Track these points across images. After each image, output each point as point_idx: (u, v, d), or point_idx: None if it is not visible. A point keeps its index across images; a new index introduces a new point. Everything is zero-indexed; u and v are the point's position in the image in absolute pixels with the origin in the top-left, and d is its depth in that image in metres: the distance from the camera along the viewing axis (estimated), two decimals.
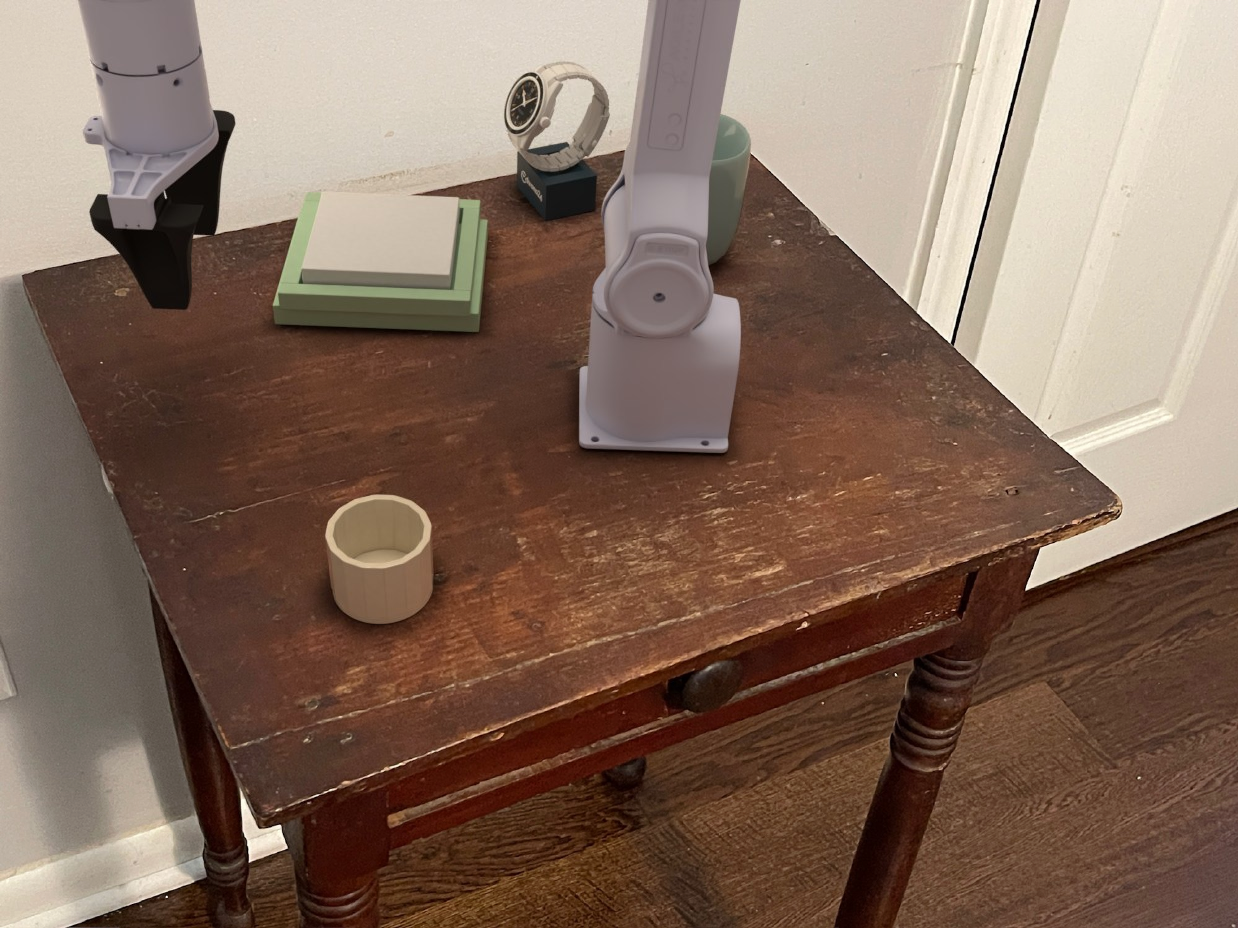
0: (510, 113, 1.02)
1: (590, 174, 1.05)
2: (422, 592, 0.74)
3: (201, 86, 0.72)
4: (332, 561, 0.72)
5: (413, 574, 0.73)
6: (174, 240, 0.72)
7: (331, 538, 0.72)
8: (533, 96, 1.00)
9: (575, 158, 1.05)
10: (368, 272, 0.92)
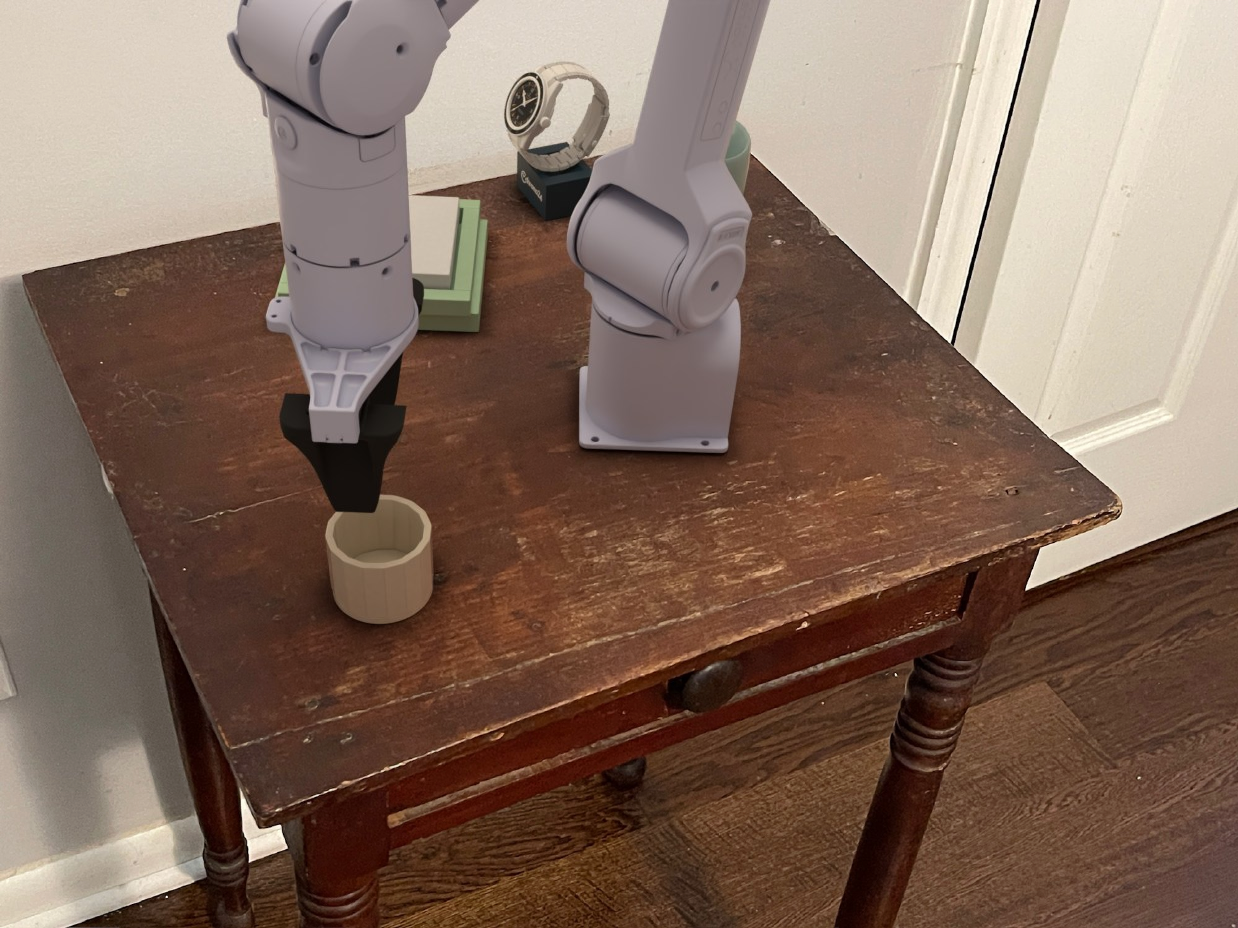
0: (510, 113, 1.02)
1: (590, 174, 1.05)
2: (422, 592, 0.74)
3: (409, 270, 0.62)
4: (332, 561, 0.72)
5: (413, 574, 0.73)
6: (375, 448, 0.62)
7: (331, 538, 0.72)
8: (533, 96, 1.00)
9: (575, 158, 1.05)
10: None
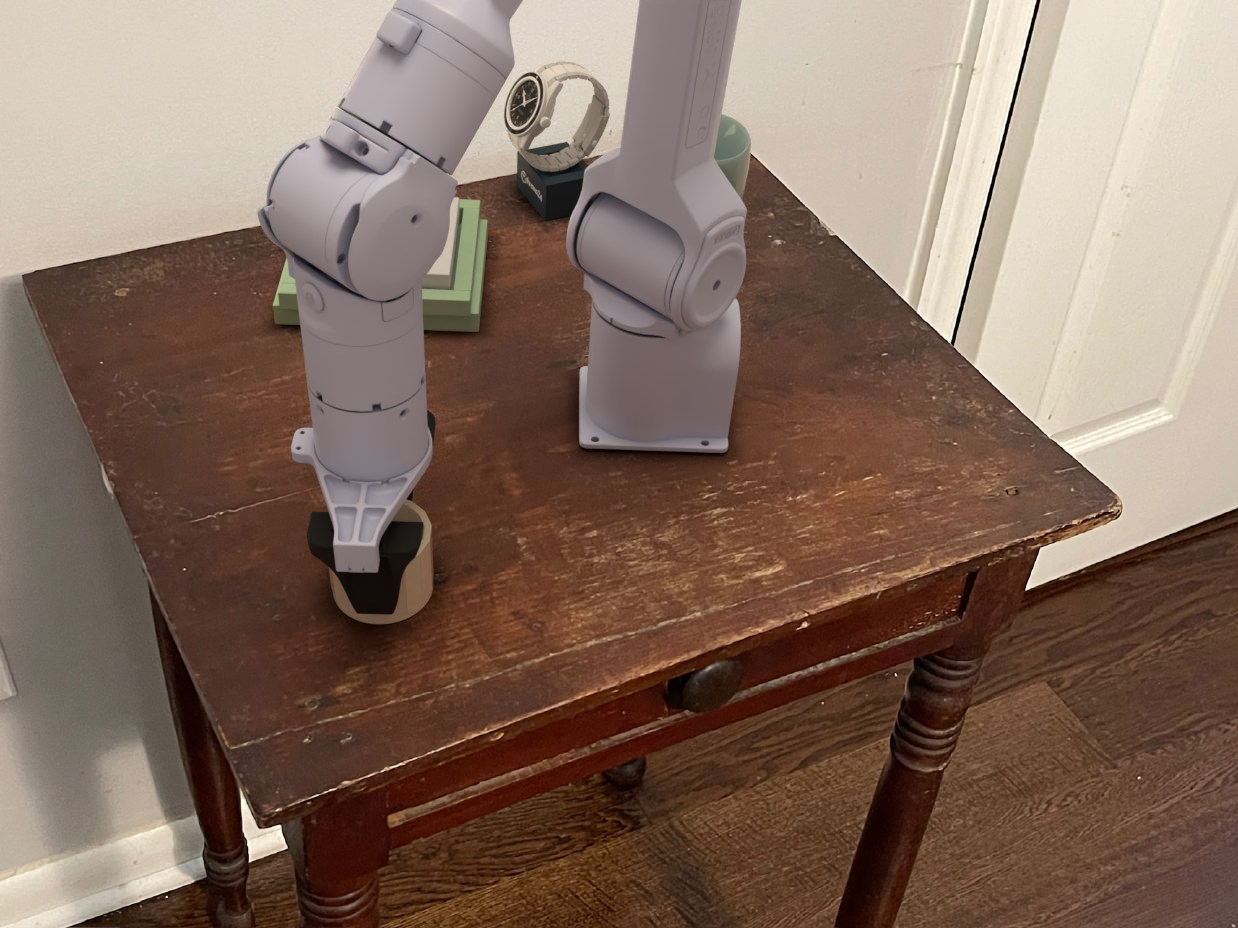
0: (510, 113, 1.02)
1: None
2: (422, 592, 0.74)
3: (424, 408, 0.67)
4: None
5: (413, 574, 0.73)
6: (394, 562, 0.68)
7: None
8: (533, 96, 1.00)
9: (575, 158, 1.05)
10: None
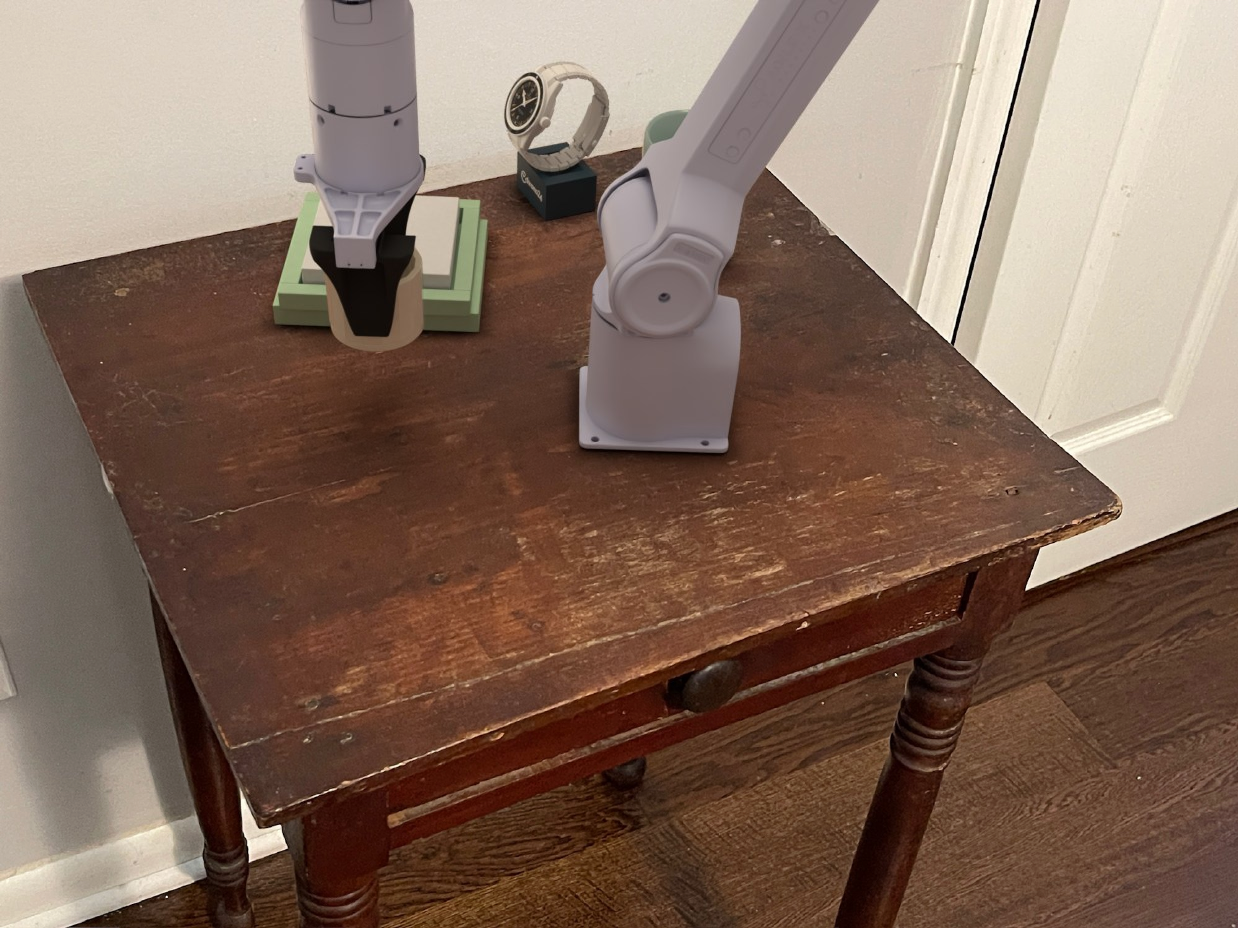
0: (510, 113, 1.02)
1: (590, 174, 1.05)
2: (414, 323, 0.80)
3: (416, 125, 0.73)
4: (330, 288, 0.78)
5: (405, 300, 0.79)
6: (390, 270, 0.74)
7: None
8: (533, 96, 1.00)
9: (575, 158, 1.05)
10: None
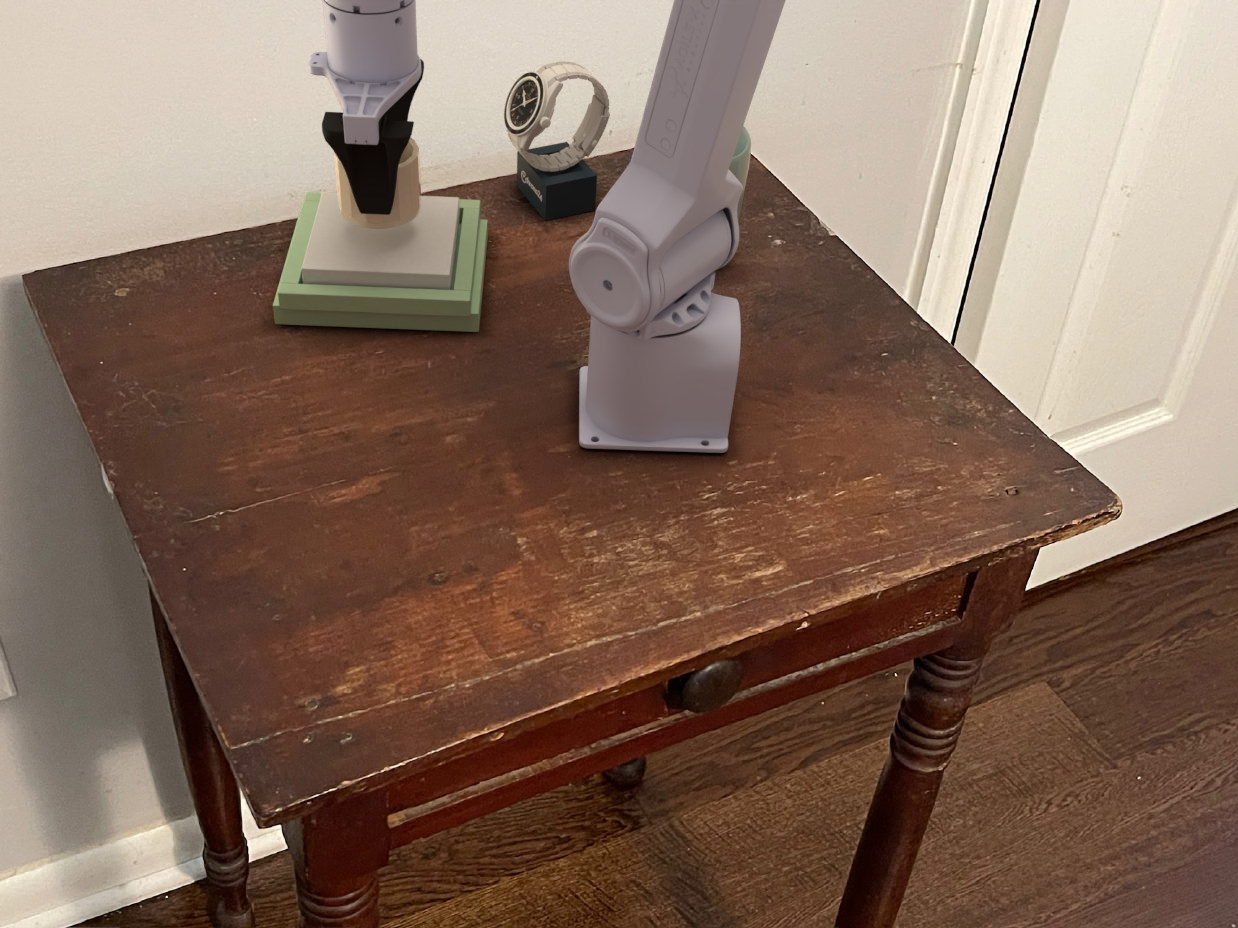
0: (510, 113, 1.02)
1: (590, 174, 1.05)
2: (411, 204, 0.92)
3: (414, 24, 0.85)
4: (339, 171, 0.90)
5: (404, 183, 0.91)
6: (391, 150, 0.86)
7: None
8: (533, 96, 1.00)
9: (575, 158, 1.05)
10: (368, 272, 0.92)
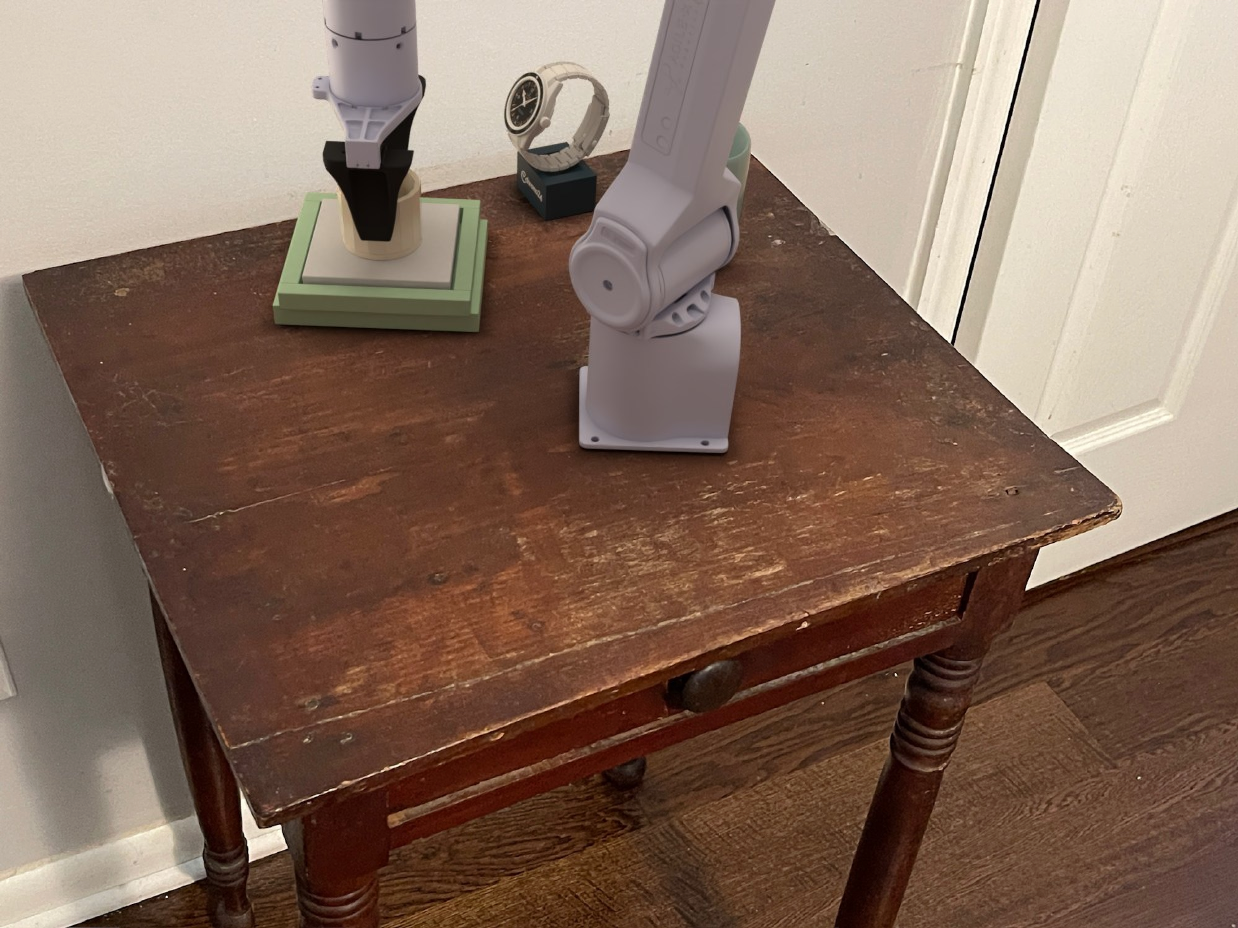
0: (510, 113, 1.02)
1: (590, 174, 1.05)
2: (413, 236, 0.94)
3: (415, 49, 0.86)
4: (342, 204, 0.92)
5: (406, 216, 0.92)
6: (391, 179, 0.86)
7: None
8: (533, 96, 1.00)
9: (575, 158, 1.05)
10: (369, 279, 0.92)
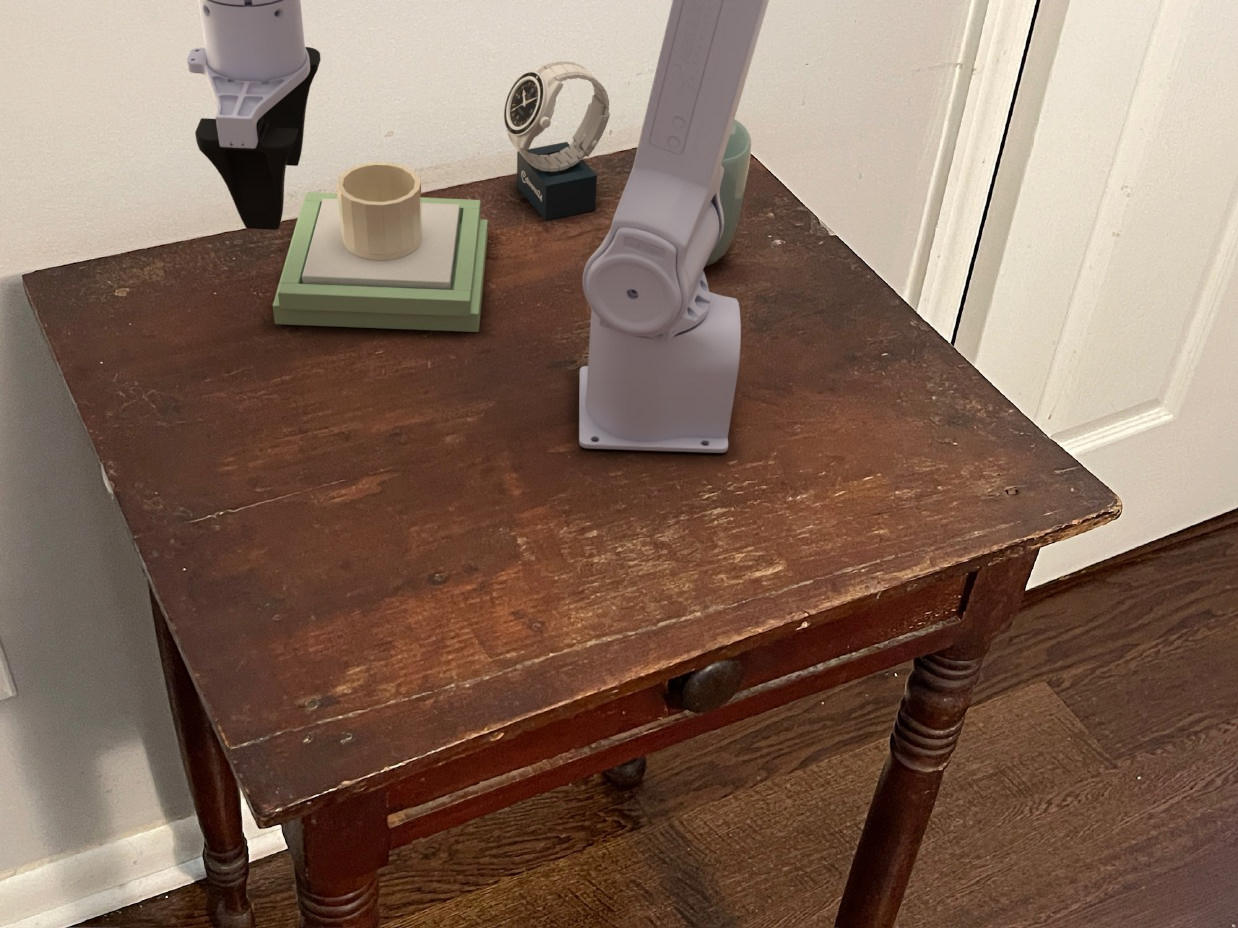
0: (510, 113, 1.02)
1: (590, 174, 1.05)
2: (413, 236, 0.94)
3: (298, 18, 0.78)
4: (342, 204, 0.92)
5: (406, 216, 0.92)
6: (272, 160, 0.78)
7: (341, 186, 0.92)
8: (533, 96, 1.00)
9: (575, 158, 1.05)
10: (369, 279, 0.92)
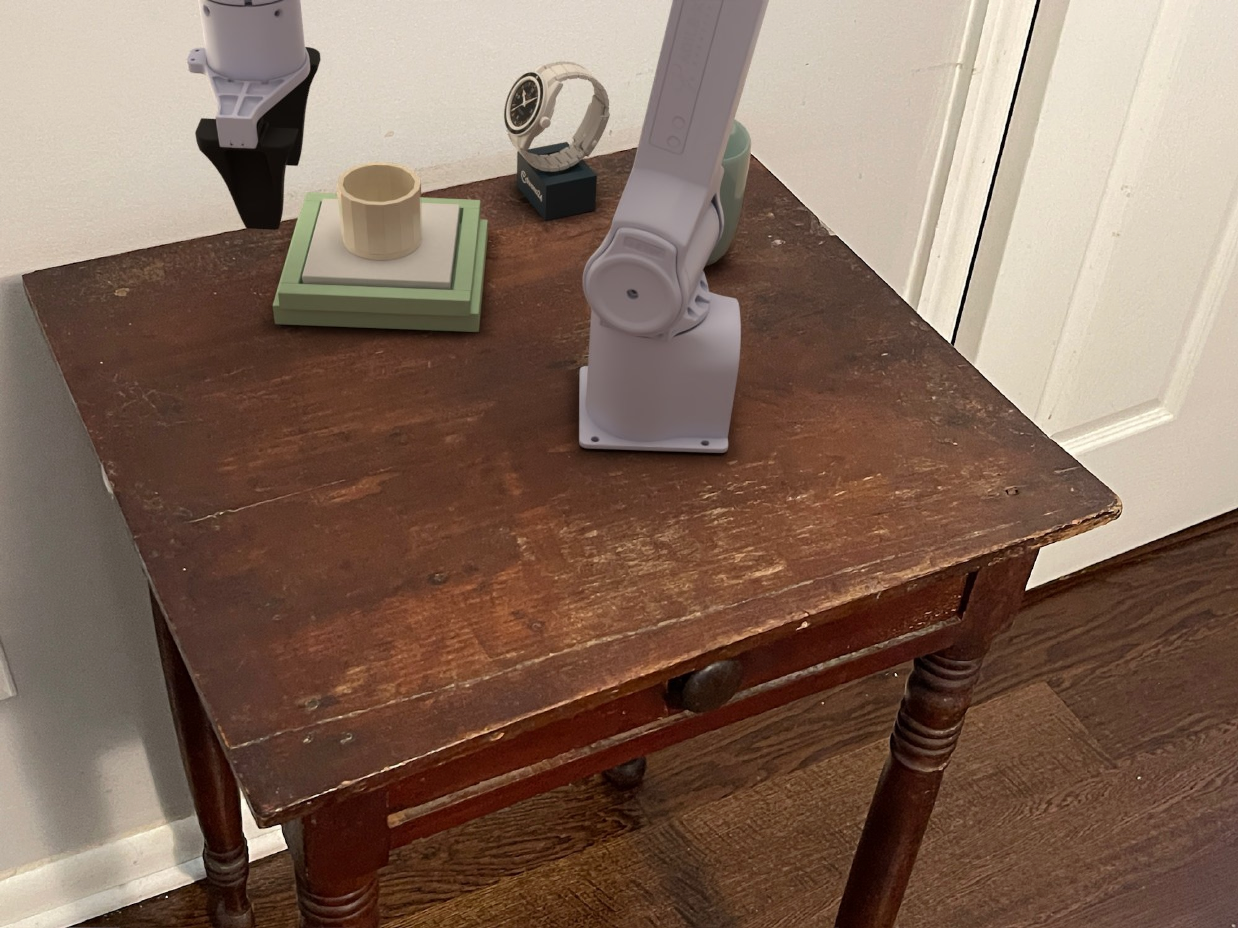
0: (510, 113, 1.02)
1: (590, 174, 1.05)
2: (413, 236, 0.94)
3: (298, 18, 0.78)
4: (342, 204, 0.92)
5: (406, 216, 0.92)
6: (272, 160, 0.78)
7: (341, 186, 0.92)
8: (533, 96, 1.00)
9: (575, 158, 1.05)
10: (369, 279, 0.92)
